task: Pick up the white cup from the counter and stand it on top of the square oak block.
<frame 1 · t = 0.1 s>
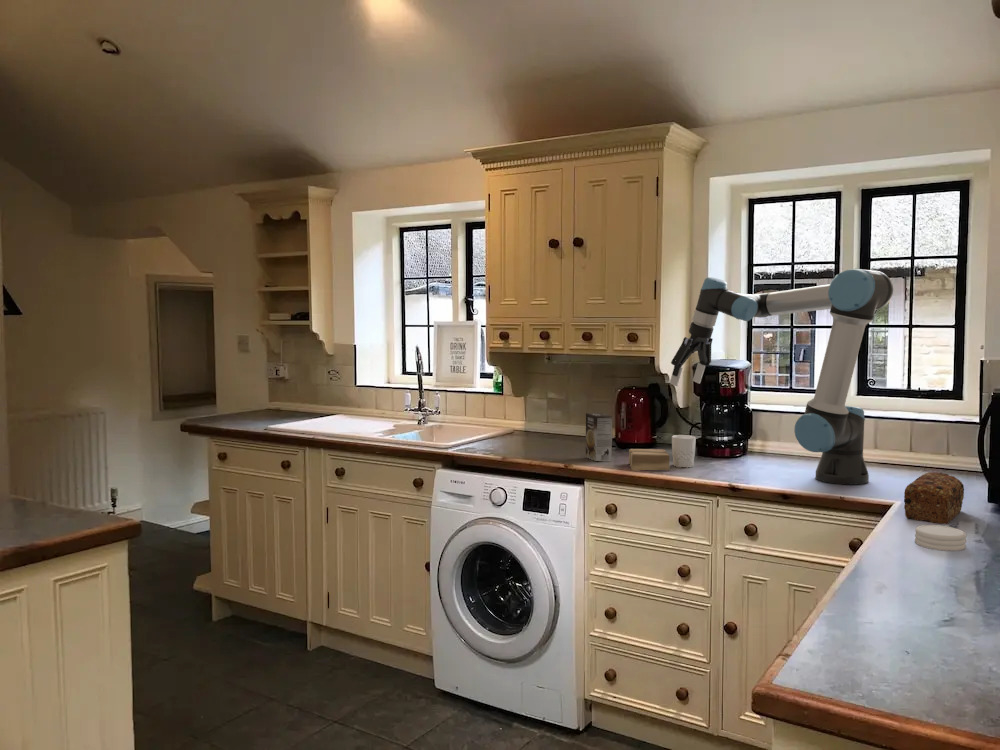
hand: (685, 383, 275), 28 cm above the table, tool tilted 20°, fingers open, 13 cm apart
oak block: (648, 467, 272), on the table
white cup: (683, 466, 274), on the table
bread: (934, 516, 206), on the table
coffee box: (598, 460, 287), on the table
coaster: (939, 546, 179), on the table
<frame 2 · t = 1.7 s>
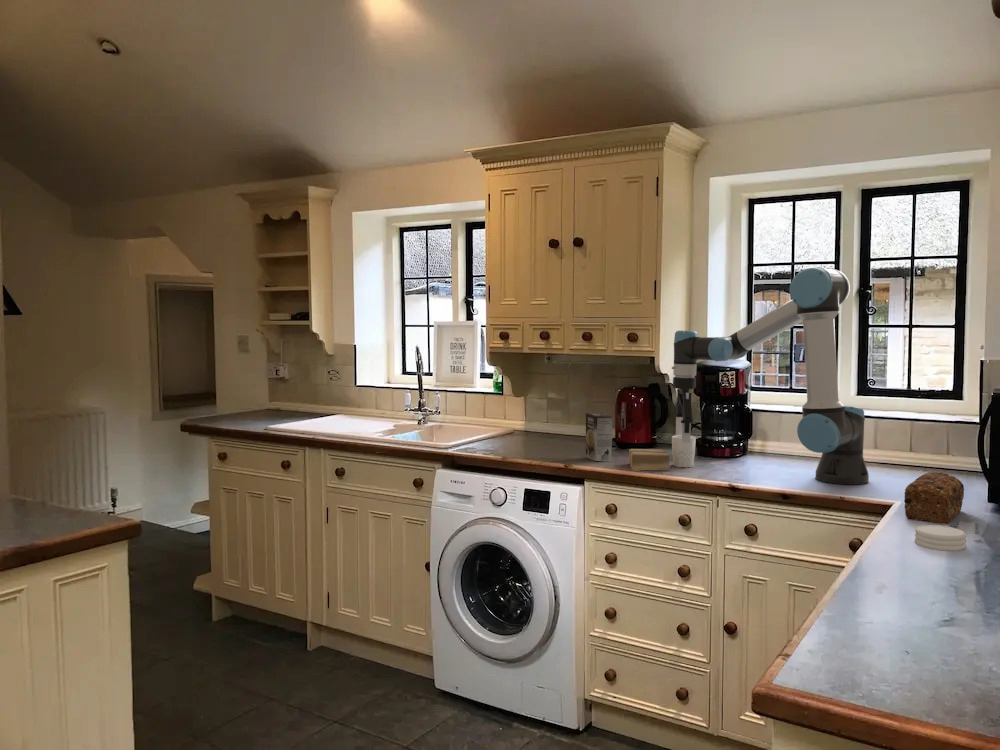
hand: (682, 439, 273), 9 cm above the table, tool pointing down, fingers open, 13 cm apart
nothing on the table moved.
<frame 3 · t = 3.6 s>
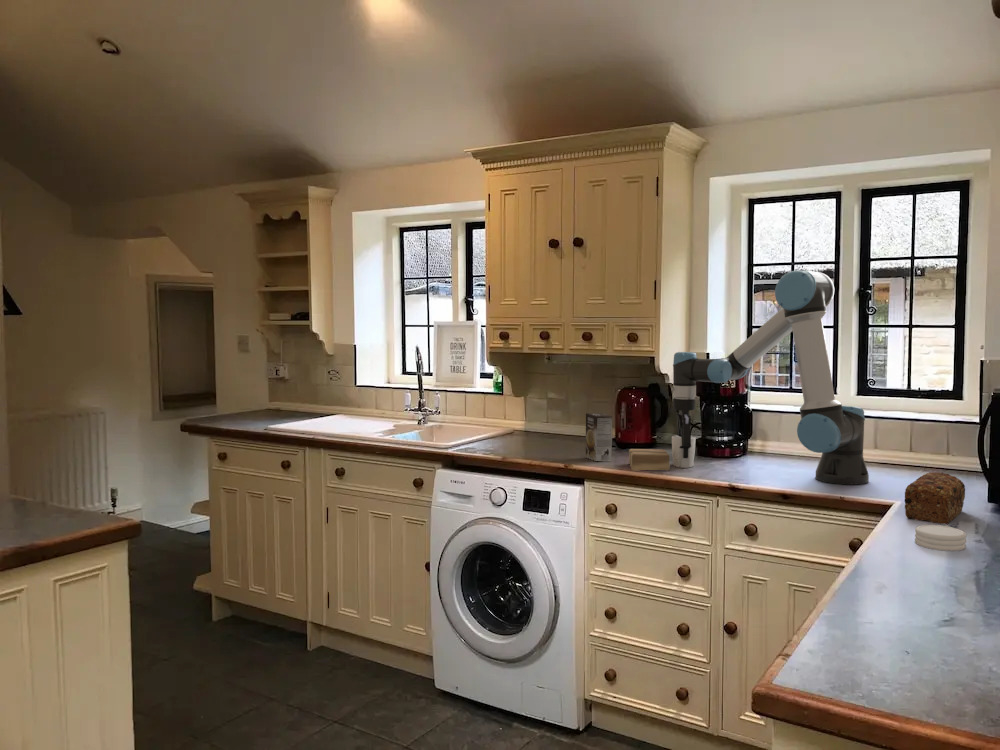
hand: (683, 465, 274), 0 cm above the table, tool pointing down, fingers closed on white cup, 7 cm apart
white cup: (683, 466, 274), on the table, touching gripper
everything else where it was.
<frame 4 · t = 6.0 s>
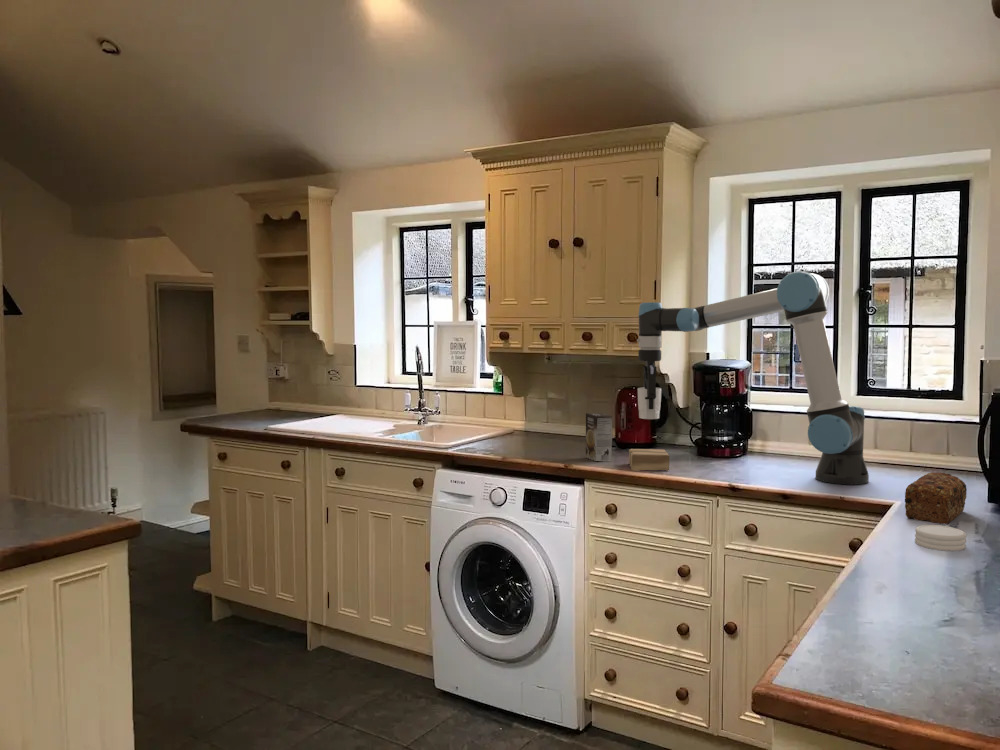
hand: (649, 417, 271), 17 cm above the table, tool pointing down, fingers closed on white cup, 7 cm apart
white cup: (649, 418, 271), point 16 cm above the table, touching gripper
everything else where it was.
when the fingers open (7 cm above the table, at t = 8.6 s): white cup drops 1 cm, resting on oak block.
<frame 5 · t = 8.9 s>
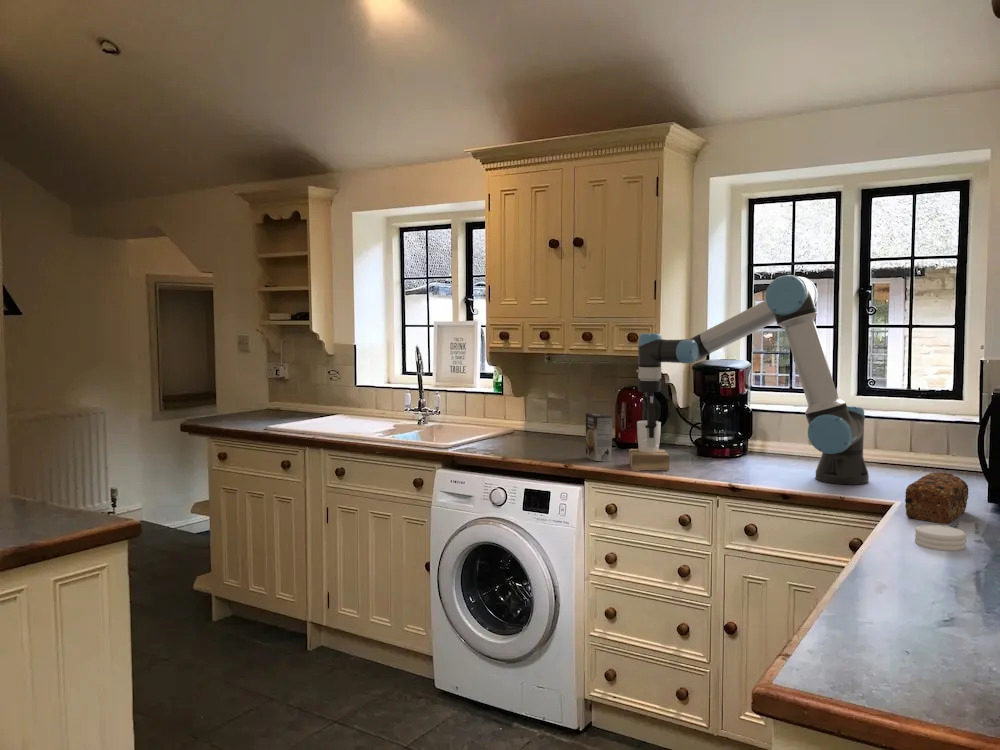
hand: (648, 444, 271), 8 cm above the table, tool pointing down, fingers open, 11 cm apart
white cup: (648, 452, 272), point 5 cm above the table, touching oak block
everything else where it was.
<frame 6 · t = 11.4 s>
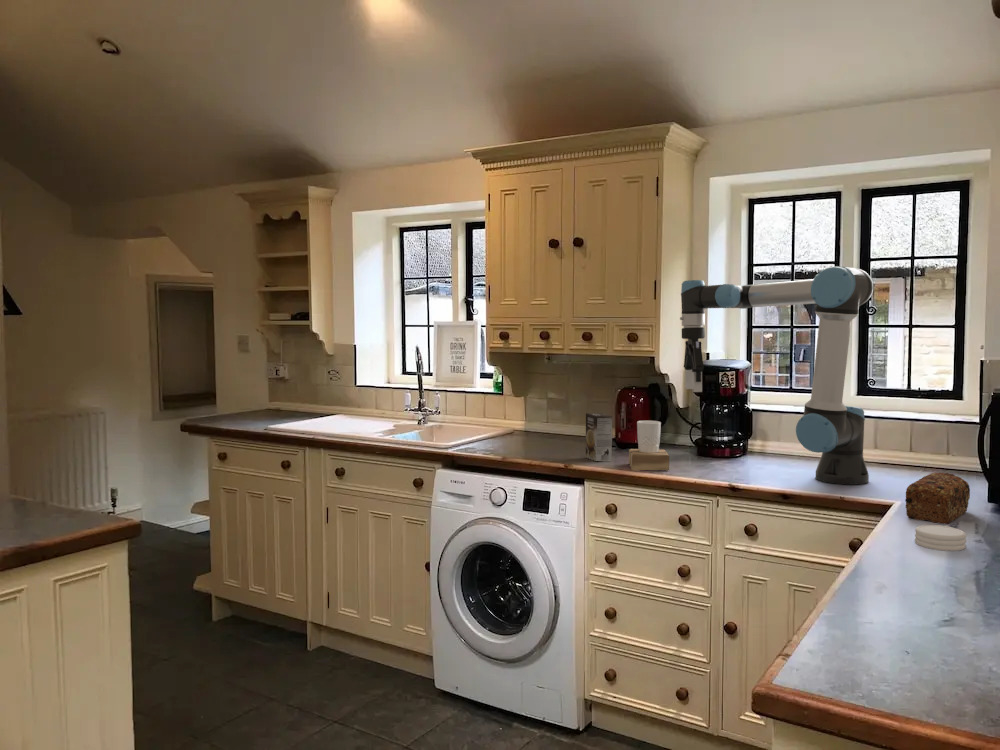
hand: (693, 390, 271), 26 cm above the table, tool pointing down, fingers open, 13 cm apart
nothing on the table moved.
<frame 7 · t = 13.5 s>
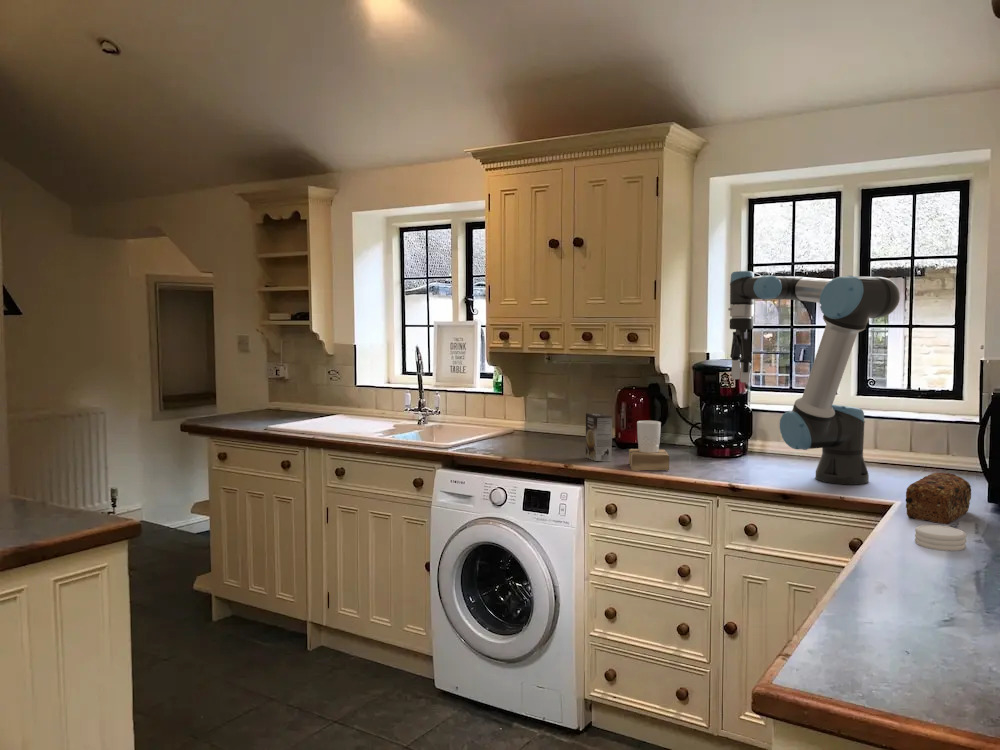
hand: (740, 380, 273), 29 cm above the table, tool pointing down, fingers open, 13 cm apart
at the end: white cup inside the target area on the oak block (0.7 cm from its centre), point 5.0 cm above the oak block's base; white cup tilted 0°; the gripper is holding nothing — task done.
